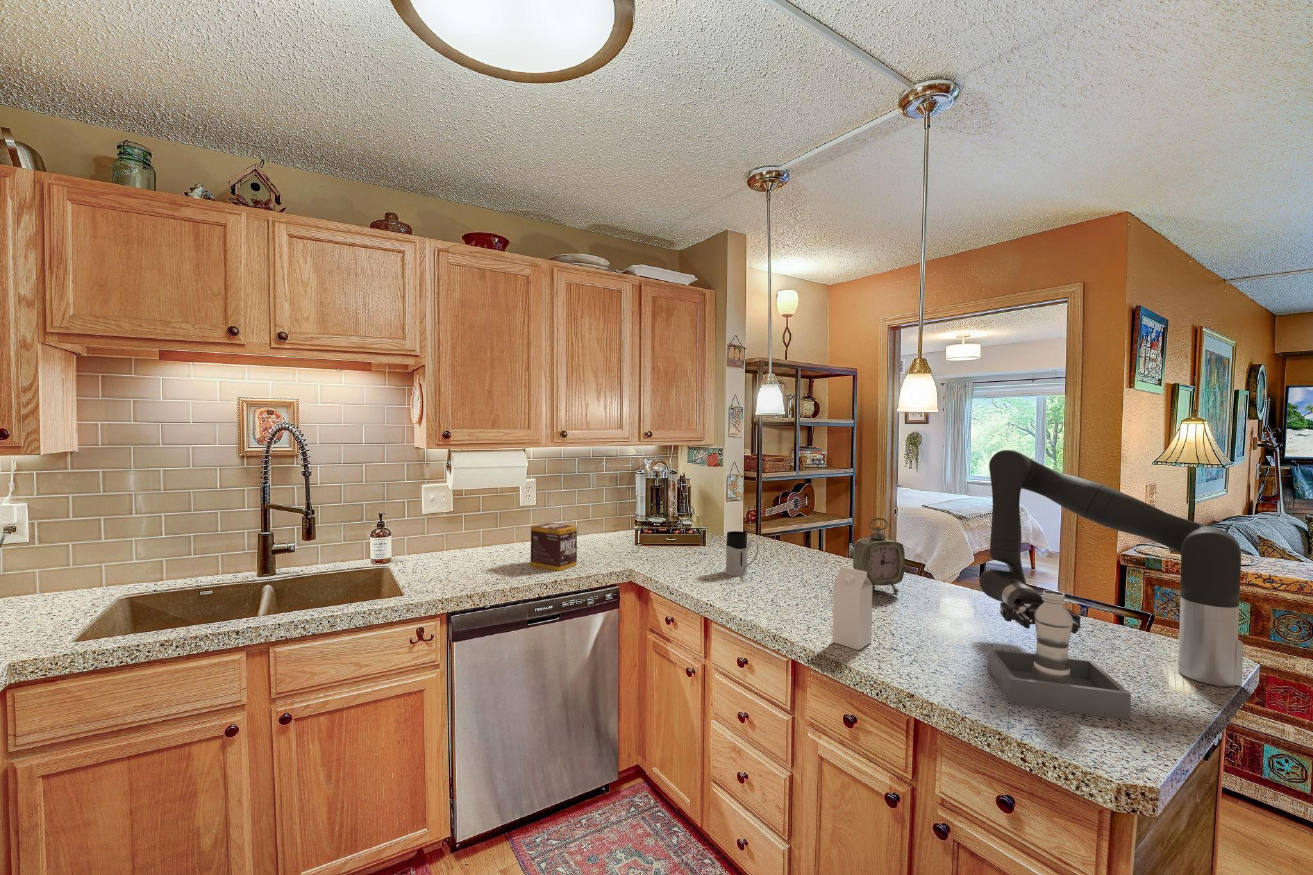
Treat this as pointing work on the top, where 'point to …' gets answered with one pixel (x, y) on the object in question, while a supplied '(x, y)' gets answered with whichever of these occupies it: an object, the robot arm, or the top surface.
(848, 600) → the milk carton
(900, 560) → the tabletop clock
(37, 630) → the top surface
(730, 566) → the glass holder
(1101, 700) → the bin
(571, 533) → the supplement box
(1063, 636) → the silver bottle
